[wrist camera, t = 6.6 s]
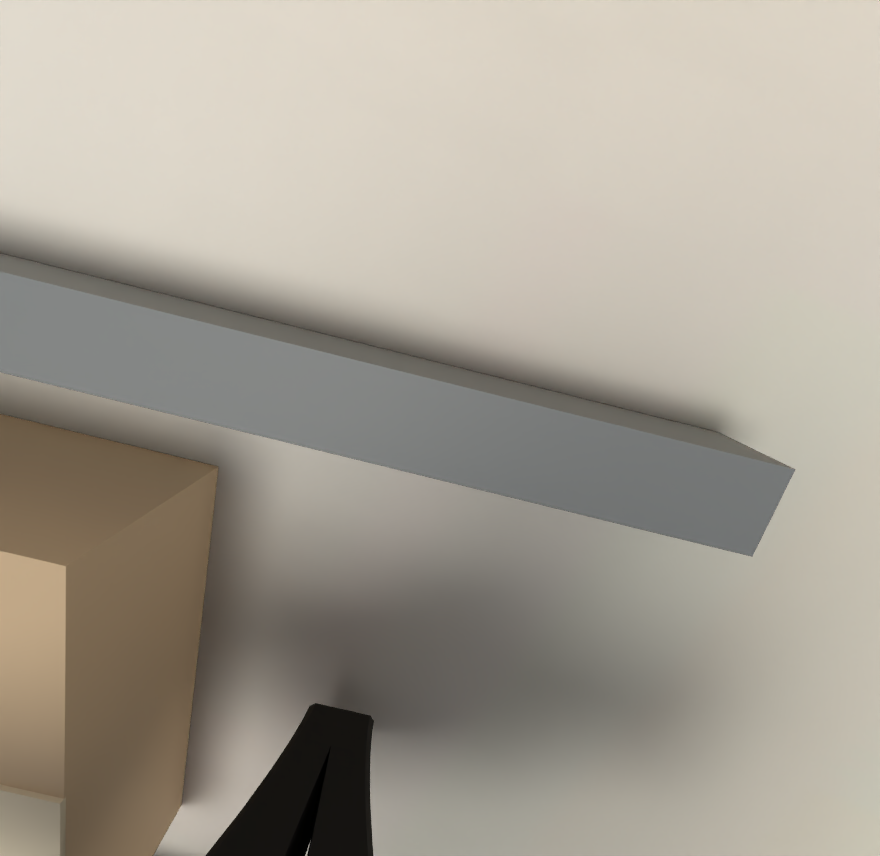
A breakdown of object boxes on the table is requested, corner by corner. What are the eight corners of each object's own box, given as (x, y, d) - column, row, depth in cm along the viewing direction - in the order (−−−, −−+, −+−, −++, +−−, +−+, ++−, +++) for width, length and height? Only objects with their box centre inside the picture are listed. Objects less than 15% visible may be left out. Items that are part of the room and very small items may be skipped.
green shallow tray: (718, 432, 8) (937, 538, 5) (485, 970, 13) (495, 1250, 9) (-353, 164, 8) (-1100, 33, 4) (-207, 813, 13) (-503, 1036, 9)
